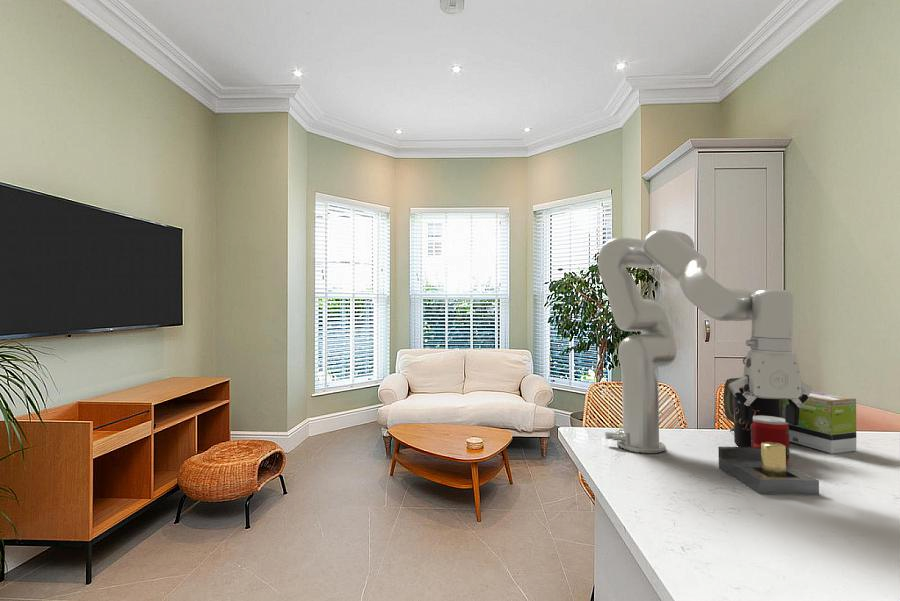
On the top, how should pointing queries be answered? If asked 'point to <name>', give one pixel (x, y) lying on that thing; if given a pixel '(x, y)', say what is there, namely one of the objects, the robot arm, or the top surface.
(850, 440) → the tea box
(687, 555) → the top surface
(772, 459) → the pale yellow cylinder
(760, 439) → the canned food
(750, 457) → the frame
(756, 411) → the coffee jar
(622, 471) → the top surface
